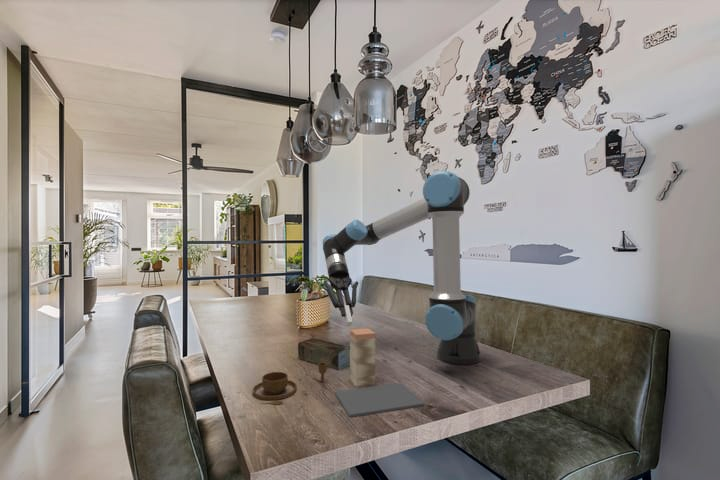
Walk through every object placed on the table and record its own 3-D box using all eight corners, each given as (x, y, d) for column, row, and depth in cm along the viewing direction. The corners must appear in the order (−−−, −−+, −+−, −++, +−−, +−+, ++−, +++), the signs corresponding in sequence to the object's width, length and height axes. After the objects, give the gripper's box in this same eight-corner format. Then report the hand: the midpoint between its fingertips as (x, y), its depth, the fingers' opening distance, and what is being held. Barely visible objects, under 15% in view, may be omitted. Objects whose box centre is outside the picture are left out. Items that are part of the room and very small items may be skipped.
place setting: (262, 381, 111) (262, 361, 111) (327, 381, 111) (327, 361, 111) (244, 407, 93) (244, 384, 93) (322, 407, 94) (322, 384, 94)
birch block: (368, 376, 113) (368, 328, 113) (375, 384, 107) (375, 333, 107) (349, 378, 111) (350, 329, 111) (355, 386, 106) (356, 334, 105)
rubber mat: (401, 384, 107) (401, 382, 107) (424, 405, 93) (424, 403, 93) (334, 393, 100) (334, 391, 100) (349, 417, 87) (349, 414, 87)
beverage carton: (338, 371, 118) (338, 350, 118) (296, 359, 130) (296, 341, 130) (353, 364, 125) (353, 345, 125) (312, 354, 136) (312, 336, 136)
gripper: (352, 275, 140) (365, 328, 125) (318, 275, 136) (328, 331, 121) (356, 262, 135) (370, 316, 119) (321, 262, 131) (332, 318, 115)
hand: (349, 324), depth 120 cm, fingers closed
